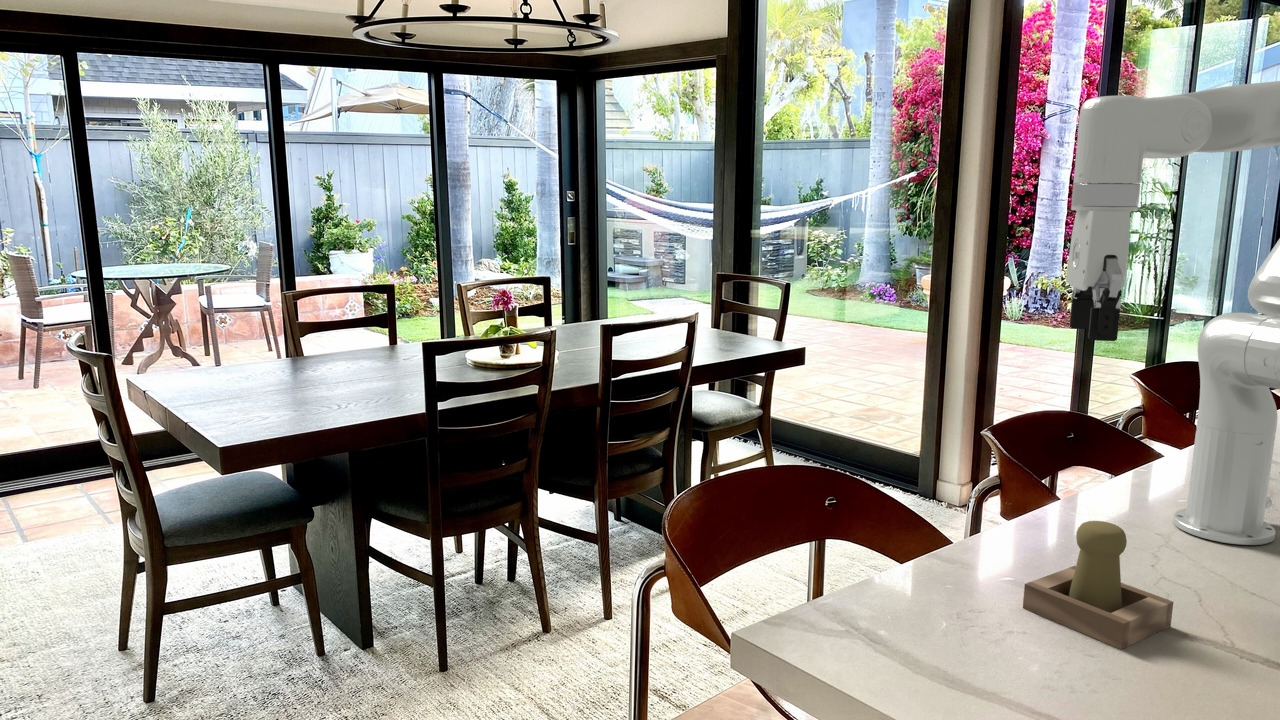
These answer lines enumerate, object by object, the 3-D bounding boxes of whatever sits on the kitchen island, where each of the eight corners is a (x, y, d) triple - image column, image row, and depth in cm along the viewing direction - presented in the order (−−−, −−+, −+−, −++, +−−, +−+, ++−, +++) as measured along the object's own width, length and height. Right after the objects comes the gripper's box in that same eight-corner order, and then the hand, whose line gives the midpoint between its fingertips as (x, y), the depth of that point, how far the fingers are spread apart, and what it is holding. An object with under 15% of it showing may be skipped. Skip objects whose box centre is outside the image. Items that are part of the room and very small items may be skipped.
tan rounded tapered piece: (1128, 628, 106) (1138, 536, 104) (1070, 622, 107) (1079, 531, 105) (1115, 605, 111) (1124, 517, 109) (1060, 600, 113) (1068, 513, 111)
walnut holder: (1072, 588, 116) (1074, 565, 116) (1170, 626, 106) (1173, 601, 106) (1022, 607, 111) (1024, 583, 110) (1121, 649, 101) (1124, 623, 100)
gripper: (1057, 197, 126) (1046, 323, 129) (1090, 199, 109) (1077, 344, 113) (1117, 198, 125) (1105, 325, 128) (1160, 200, 108) (1144, 346, 111)
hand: (1092, 334), depth 120 cm, fingers open, 9 cm apart
